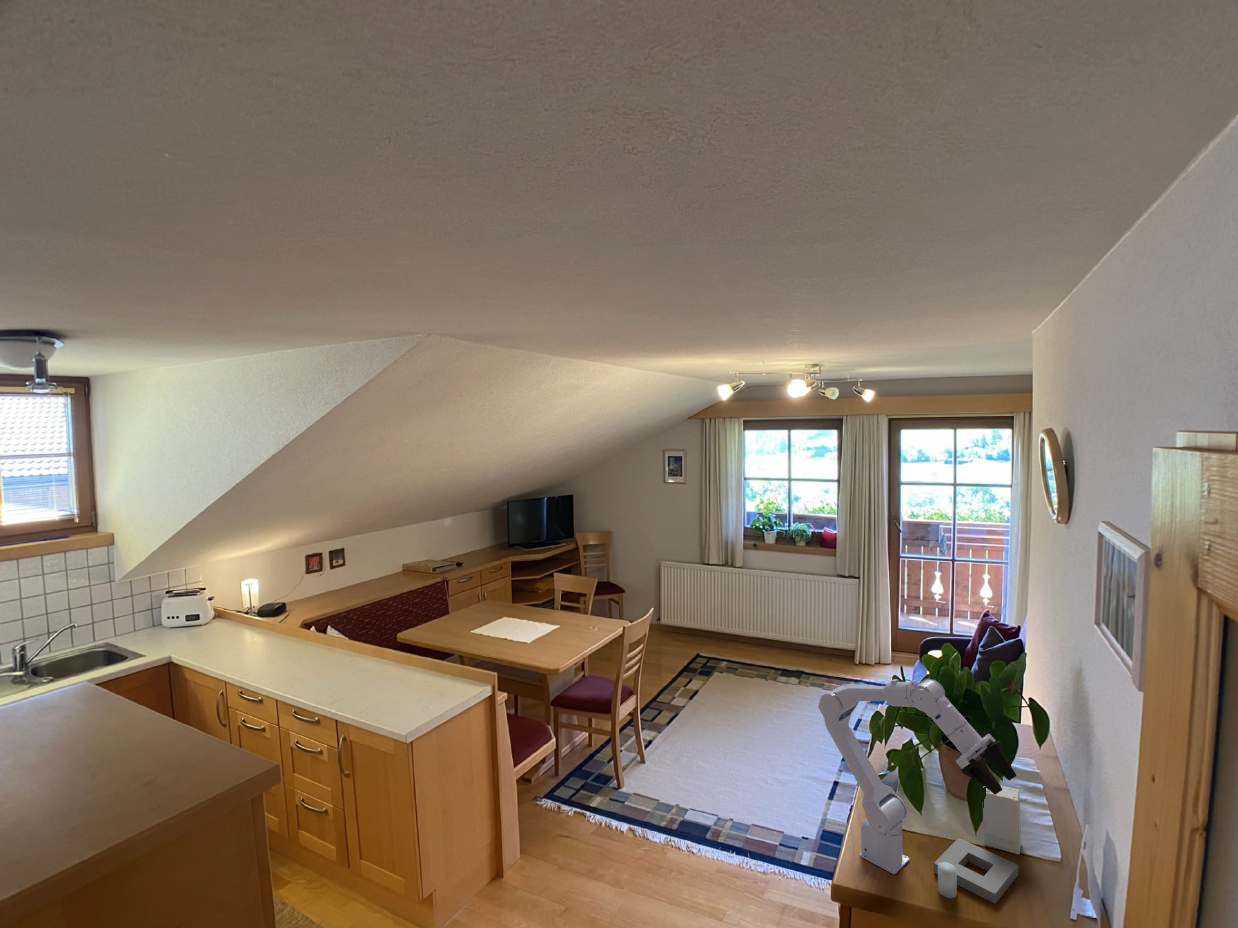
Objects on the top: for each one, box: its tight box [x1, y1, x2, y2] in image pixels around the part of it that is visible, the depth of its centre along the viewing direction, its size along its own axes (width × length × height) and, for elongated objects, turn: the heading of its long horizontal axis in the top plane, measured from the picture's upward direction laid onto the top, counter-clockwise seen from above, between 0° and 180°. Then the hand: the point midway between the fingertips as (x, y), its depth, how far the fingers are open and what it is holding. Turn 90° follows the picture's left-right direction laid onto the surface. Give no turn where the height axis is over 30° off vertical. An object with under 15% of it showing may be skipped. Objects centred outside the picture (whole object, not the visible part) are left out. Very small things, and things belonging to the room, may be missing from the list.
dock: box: [933, 837, 1019, 905], centre depth 160 cm, size 14×14×2 cm
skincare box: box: [982, 784, 1022, 855], centre depth 169 cm, size 8×6×15 cm
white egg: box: [937, 862, 958, 899], centre depth 154 cm, size 4×4×6 cm
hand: (1005, 784), depth 142 cm, fingers open, 7 cm apart
